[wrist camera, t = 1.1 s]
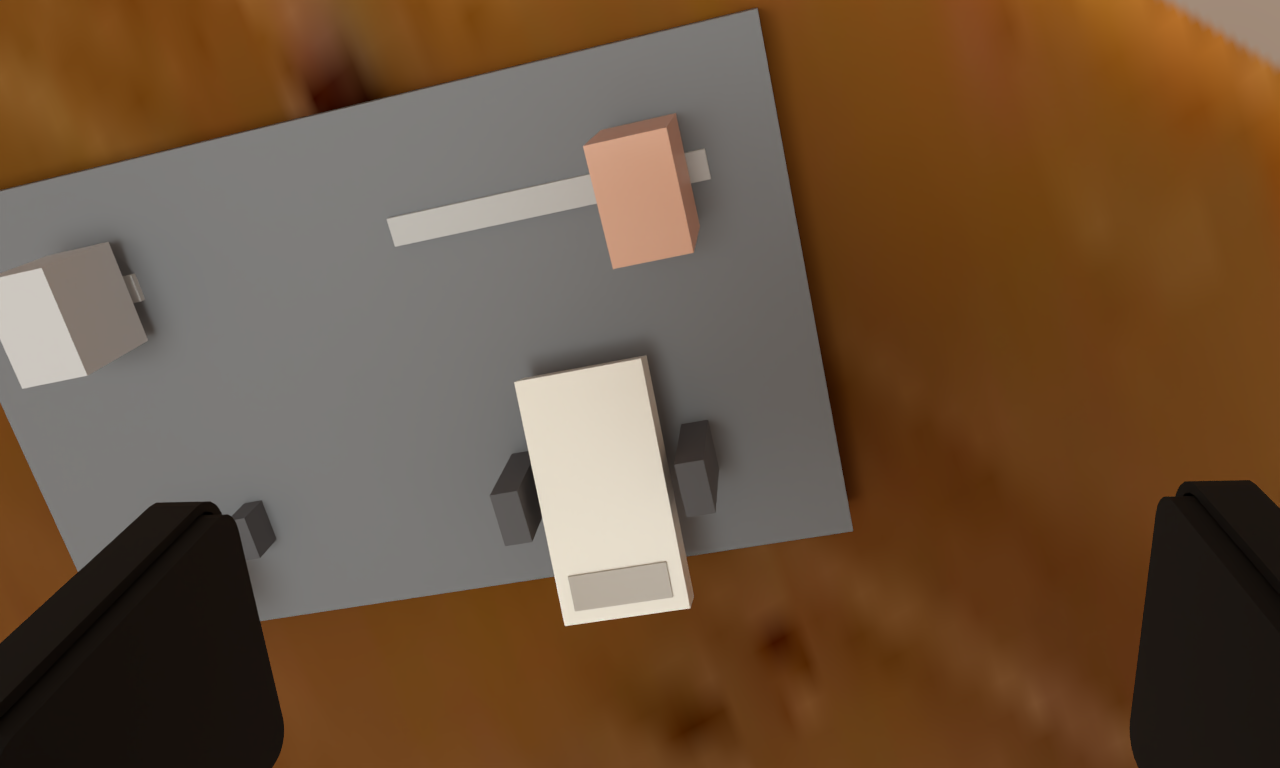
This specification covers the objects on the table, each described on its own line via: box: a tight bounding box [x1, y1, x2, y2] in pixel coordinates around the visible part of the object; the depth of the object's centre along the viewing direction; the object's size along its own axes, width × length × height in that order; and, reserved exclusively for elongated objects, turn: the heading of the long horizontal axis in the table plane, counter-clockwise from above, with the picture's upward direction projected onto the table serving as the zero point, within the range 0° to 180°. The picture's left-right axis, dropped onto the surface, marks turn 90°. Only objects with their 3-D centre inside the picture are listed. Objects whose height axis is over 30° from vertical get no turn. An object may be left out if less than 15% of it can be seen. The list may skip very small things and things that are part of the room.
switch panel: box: [0, 8, 853, 621], centre depth 31 cm, size 25×15×5 cm, turn 103°
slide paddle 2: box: [583, 113, 700, 269], centre depth 26 cm, size 2×3×3 cm, turn 13°
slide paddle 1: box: [0, 242, 148, 389], centre depth 29 cm, size 2×3×3 cm, turn 13°
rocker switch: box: [514, 355, 694, 626], centre depth 29 cm, size 4×7×1 cm, turn 13°
